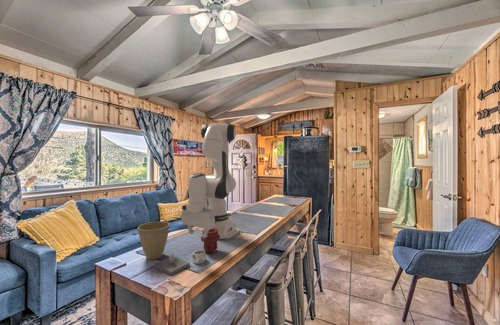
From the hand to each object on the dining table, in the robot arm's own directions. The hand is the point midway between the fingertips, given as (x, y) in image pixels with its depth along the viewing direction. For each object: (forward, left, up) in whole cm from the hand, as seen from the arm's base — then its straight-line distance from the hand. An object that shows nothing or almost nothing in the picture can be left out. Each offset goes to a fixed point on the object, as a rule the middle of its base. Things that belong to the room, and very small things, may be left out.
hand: (197, 235), depth 107 cm
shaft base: (+10, -6, -13) cm, 17 cm away
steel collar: (-1, 0, -13) cm, 13 cm away
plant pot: (+8, -23, -13) cm, 28 cm away
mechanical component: (-12, -3, -13) cm, 17 cm away
